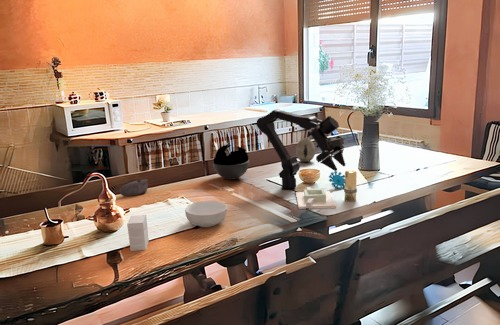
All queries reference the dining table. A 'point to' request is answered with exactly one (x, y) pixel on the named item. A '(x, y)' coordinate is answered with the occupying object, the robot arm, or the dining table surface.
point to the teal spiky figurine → (337, 180)
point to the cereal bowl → (206, 213)
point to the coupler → (350, 186)
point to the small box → (138, 232)
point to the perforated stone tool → (134, 188)
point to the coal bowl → (231, 162)
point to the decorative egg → (305, 150)
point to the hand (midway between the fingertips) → (340, 168)
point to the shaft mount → (315, 199)
